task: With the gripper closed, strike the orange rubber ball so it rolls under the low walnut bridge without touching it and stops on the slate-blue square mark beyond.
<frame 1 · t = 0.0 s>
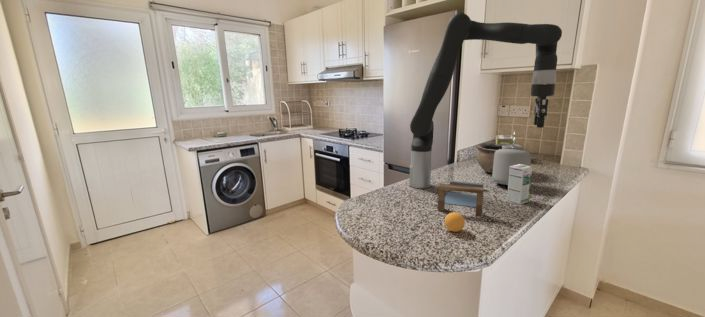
hand: (538, 126, 113), 29 cm above the counter, tool pointing down, fingers open, 8 cm apart
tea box: (503, 159, 187), on the counter
syrup box: (517, 201, 116), on the counter
ceramic bowl: (497, 173, 157), on the counter
stopper: (466, 188, 134), on the counter
bridge: (459, 212, 107), on the counter
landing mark: (462, 199, 120), on the counter
jar: (509, 185, 137), on the counter
ball: (454, 221, 92), on the counter
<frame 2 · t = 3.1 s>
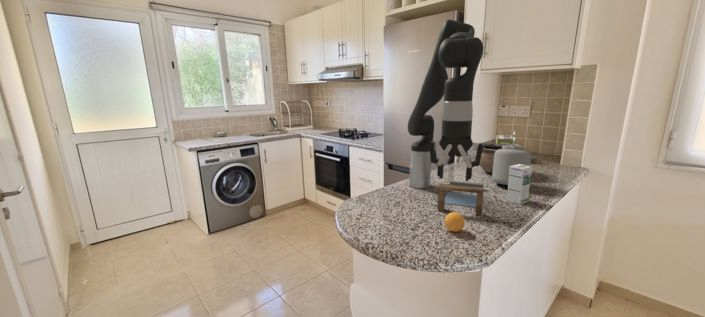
hand: (453, 179, 81), 20 cm above the counter, tool pointing down, fingers open, 6 cm apart
nothing on the counter moved.
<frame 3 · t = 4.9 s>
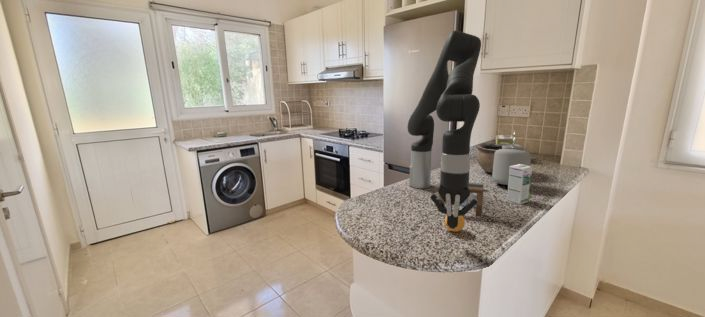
hand: (452, 227, 84), 5 cm above the counter, tool pointing down, fingers closed
nothing on the counter moved.
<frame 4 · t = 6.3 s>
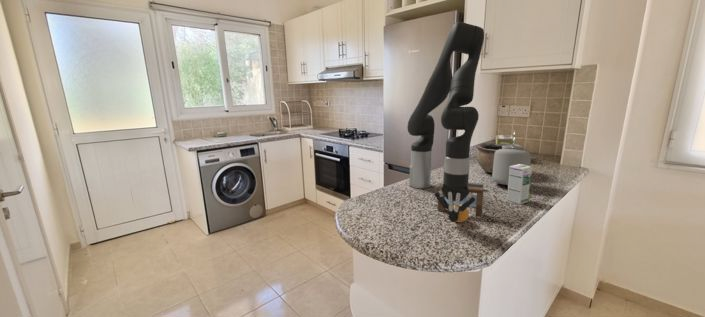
hand: (453, 221, 96), 2 cm above the counter, tool pointing down, fingers closed
ball: (459, 213, 99), on the counter
everything else where it was.
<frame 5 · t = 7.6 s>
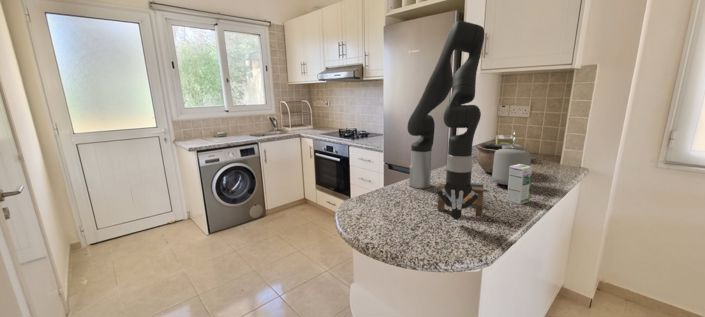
hand: (456, 218, 97), 2 cm above the counter, tool pointing down, fingers closed
ball: (471, 196, 114), on the counter
everything else where it was.
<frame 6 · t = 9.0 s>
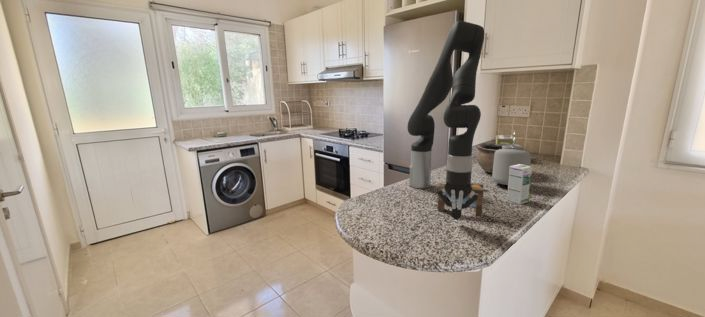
hand: (456, 218, 97), 2 cm above the counter, tool pointing down, fingers closed
ball: (475, 192, 119), on the counter
everything else where it was.
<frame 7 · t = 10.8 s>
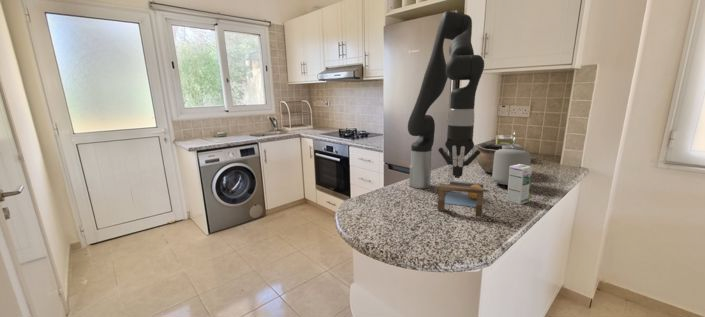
hand: (457, 177, 94), 16 cm above the counter, tool pointing down, fingers closed
nothing on the counter moved.
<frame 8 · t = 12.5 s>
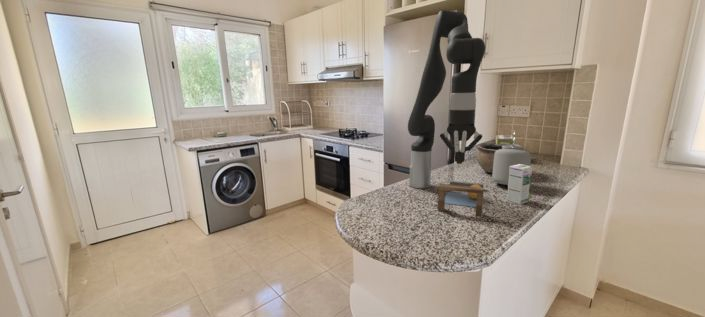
hand: (459, 163, 93), 21 cm above the counter, tool pointing down, fingers closed
nothing on the counter moved.
at the end: ball 5.1 cm from the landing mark (horizontally); ball never touched bridge; ball at rest at the end (0.0 cm/s) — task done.
